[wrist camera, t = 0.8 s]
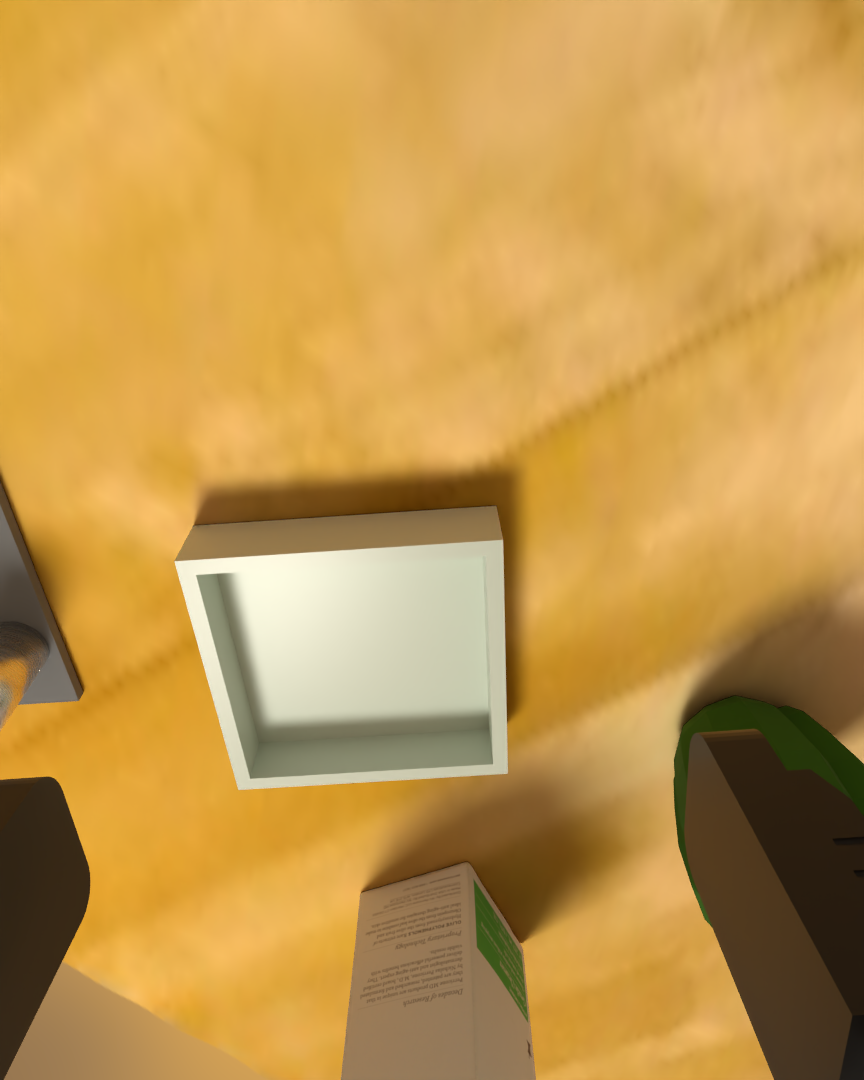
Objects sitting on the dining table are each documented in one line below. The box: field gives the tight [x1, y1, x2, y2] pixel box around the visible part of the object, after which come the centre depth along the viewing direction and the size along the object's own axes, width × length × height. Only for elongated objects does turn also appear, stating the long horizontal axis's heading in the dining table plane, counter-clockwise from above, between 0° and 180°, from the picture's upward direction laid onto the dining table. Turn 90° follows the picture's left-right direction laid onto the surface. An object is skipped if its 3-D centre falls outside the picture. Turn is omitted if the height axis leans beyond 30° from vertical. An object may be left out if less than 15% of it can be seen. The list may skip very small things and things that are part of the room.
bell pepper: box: [674, 696, 864, 928], centre depth 29 cm, size 8×8×10 cm
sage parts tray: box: [175, 506, 508, 790], centre depth 29 cm, size 11×11×2 cm
